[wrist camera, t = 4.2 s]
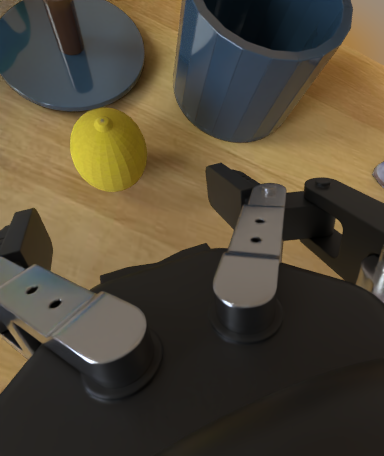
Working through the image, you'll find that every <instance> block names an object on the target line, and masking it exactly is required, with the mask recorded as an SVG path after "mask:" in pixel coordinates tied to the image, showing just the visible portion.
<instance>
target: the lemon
mask: <svg viewBox="0 0 384 456" xmlns="http://www.w3.org/2000/svg"><path fill="white" fill-rule="evenodd" d="M70 152H71V156H72V159H73V163H74V166H75V167H76V169H77V170H78V172H79V174H80V175H81V176H82V178H84V179H85V180H86V181H87V182H88V183H89V184H90V185H92V186H94V187H95V188H97V189H100V190H103V191H107V192H117V191H122V190H125V189H127V188H129V187H131V186H132V185H134V184H135V183H136V182H137V181H138V180H139V178H140V177H141V176H142V174H143V172H144V169H145V166H146V161H147V149H146V143H145V139H144V137H143V135H142V133H141V131H140V129H139V127H138V125H137V124H136V123H135V122H134V121H133V120H132V119H131V118H130V117H129V116H128V115H126V114H125V113H123V112H121V111H119V110H116V109H112V108H97V109H93V110H90V111H88V112H86V113H85V114H84V115H82V116H81V117H80V118H79V119H78V121H77V122H76V123H75V125H74V127H73V130H72V133H71V137H70Z"/></svg>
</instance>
